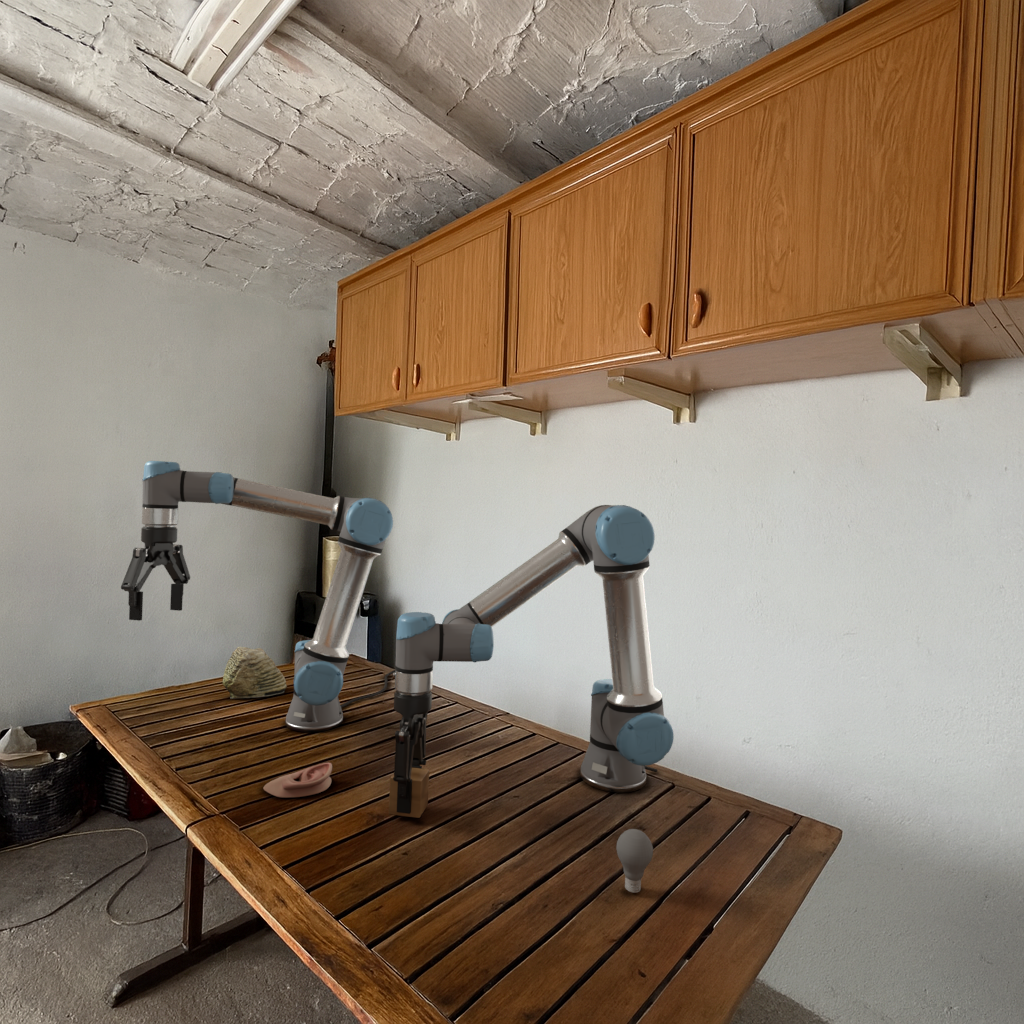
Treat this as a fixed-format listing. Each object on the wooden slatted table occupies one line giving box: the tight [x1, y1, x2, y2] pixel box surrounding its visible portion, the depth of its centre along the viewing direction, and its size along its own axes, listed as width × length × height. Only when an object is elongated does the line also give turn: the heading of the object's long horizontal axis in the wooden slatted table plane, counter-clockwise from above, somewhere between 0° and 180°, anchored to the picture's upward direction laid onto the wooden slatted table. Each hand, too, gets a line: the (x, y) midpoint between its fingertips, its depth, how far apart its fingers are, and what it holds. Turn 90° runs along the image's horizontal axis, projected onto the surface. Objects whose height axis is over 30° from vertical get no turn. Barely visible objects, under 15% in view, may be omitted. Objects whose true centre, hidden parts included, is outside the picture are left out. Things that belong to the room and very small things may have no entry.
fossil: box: [222, 646, 288, 699], centre depth 198 cm, size 9×18×15 cm, turn 132°
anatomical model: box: [262, 762, 333, 799], centre depth 138 cm, size 13×4×12 cm
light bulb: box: [615, 828, 654, 894], centre depth 106 cm, size 6×6×10 cm
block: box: [388, 768, 430, 819], centre depth 128 cm, size 6×6×7 cm
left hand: (156, 614), depth 151 cm, fingers open, 13 cm apart
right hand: (408, 804), depth 128 cm, fingers closed on block, 6 cm apart
